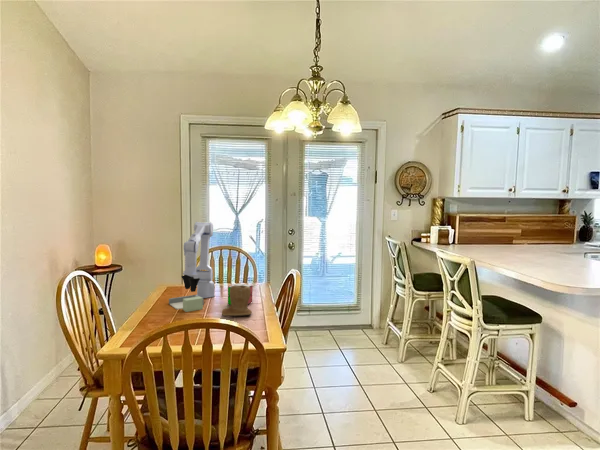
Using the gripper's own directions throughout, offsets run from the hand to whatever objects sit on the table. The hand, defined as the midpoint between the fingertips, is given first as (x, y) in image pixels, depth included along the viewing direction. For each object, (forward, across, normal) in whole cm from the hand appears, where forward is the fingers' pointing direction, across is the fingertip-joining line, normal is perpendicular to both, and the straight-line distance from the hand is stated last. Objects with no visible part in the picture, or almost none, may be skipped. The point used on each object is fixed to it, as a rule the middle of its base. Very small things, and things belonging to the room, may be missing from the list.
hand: (190, 290), depth 203 cm
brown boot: (+11, +20, +17) cm, 28 cm away
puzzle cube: (+10, +4, +28) cm, 30 cm away
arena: (+10, -10, +2) cm, 14 cm away
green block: (+10, 0, +2) cm, 11 cm away
